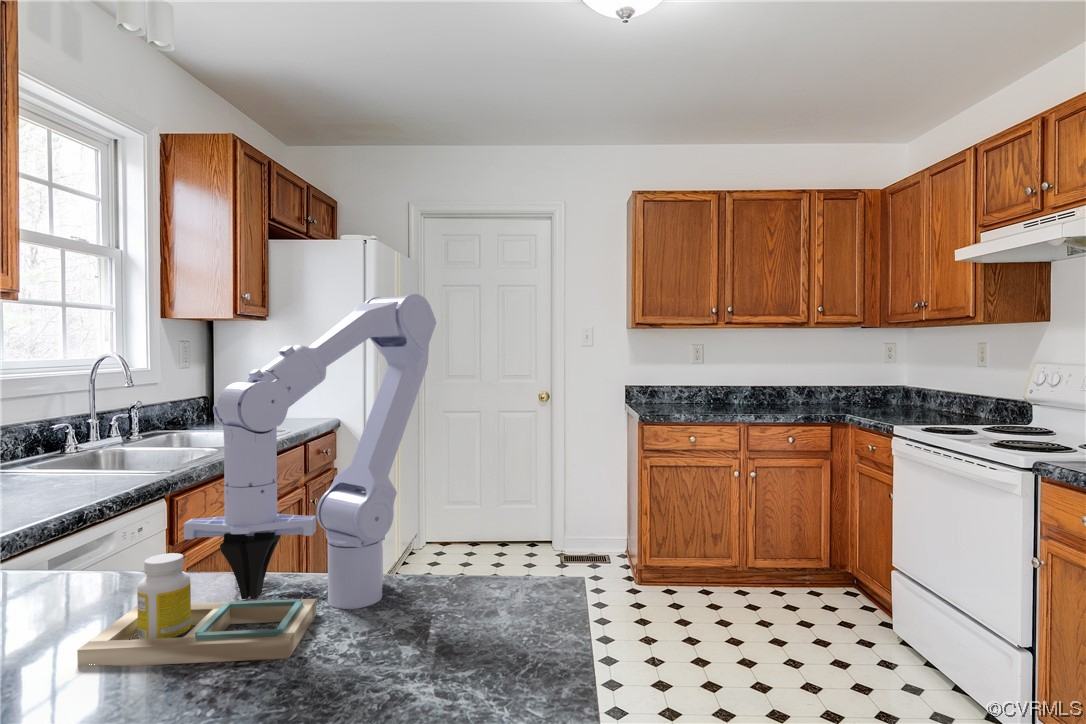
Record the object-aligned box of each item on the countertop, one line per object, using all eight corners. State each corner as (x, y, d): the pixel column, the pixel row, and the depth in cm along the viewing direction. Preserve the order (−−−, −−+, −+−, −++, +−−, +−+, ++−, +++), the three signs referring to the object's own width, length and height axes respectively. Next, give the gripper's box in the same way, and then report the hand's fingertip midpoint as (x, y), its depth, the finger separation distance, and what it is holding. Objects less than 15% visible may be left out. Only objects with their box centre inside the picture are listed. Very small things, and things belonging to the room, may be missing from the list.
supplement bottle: (199, 630, 78) (199, 550, 78) (175, 651, 72) (174, 565, 72) (155, 630, 77) (154, 551, 77) (127, 651, 72) (126, 566, 72)
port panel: (137, 621, 80) (137, 601, 80) (316, 614, 82) (316, 594, 82) (77, 668, 68) (77, 645, 68) (289, 658, 70) (289, 636, 70)
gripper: (170, 491, 71) (171, 611, 71) (304, 488, 72) (305, 606, 72) (198, 478, 78) (199, 588, 78) (320, 476, 79) (320, 584, 79)
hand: (251, 595), depth 76 cm, fingers closed
